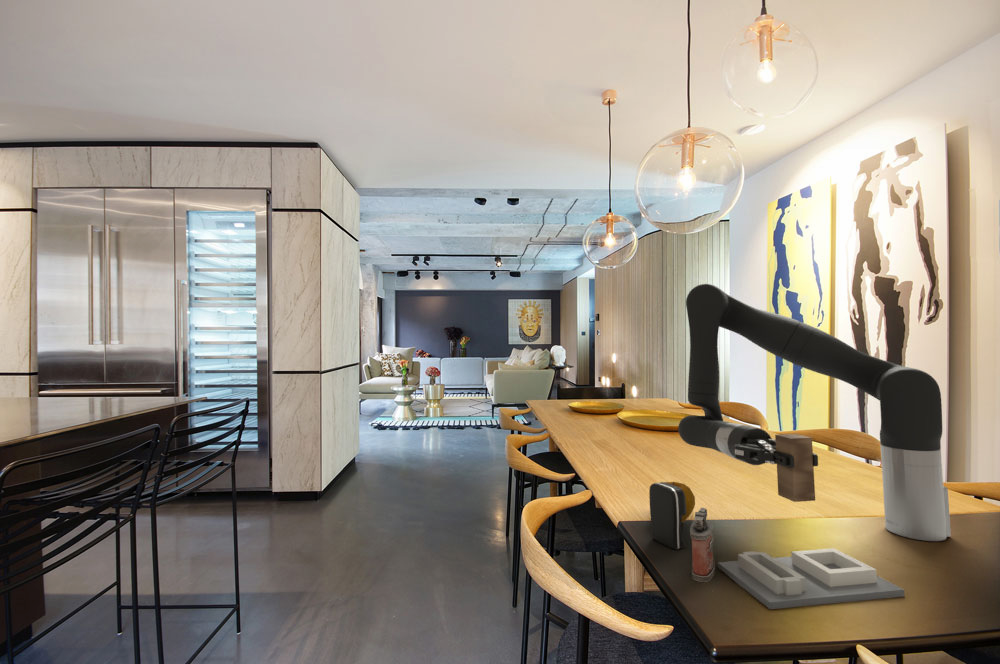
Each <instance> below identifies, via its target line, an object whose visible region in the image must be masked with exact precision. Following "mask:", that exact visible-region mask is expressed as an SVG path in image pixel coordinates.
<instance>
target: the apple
mask: <svg viewBox="0 0 1000 664" xmlns="http://www.w3.org/2000/svg"><path fill="white" fill-rule="evenodd" d="M664 482H665V483H669V484H672V485H675V486H677V487H679V488H681V489H682V490H683V491H684V494H685V500H686V515H683V516H682V520H681V524H682V523H684V522H685V521H686V520H687V519H688V518H689V517H690V515H691V514H692V513H693V511H694V509H695V506H696V496H695V495H694V493H693V491H692V490H691V488H690V487H689V486H687V485H686V484H685V483H682V482H678V481H664Z"/></svg>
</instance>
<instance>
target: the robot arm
mask: <svg viewBox="0 0 1000 664" xmlns="http://www.w3.org/2000/svg"><path fill="white" fill-rule="evenodd" d="M685 305H686V306H685V307H686V313H687V319H688V327H689V344H690V345H689V363H688V365H689V367H688V381H687V382H688V383H687V401H688V403H689V404H691V405H692V406H695V407H699V408H702V410H703V413H704V415H687V416H684V417H683V418H681V420H680V421H679V423H678V429H677V430H678V431H677V432H678V435H679V436H680V439H681V440H682V441H683V442H684V443H686V444H687V445H690V446H692V447H693V446H694V447H700V448H705V449H712V450H715V451H717V452H719V453H722V454H725V455H726V456H728V457H730V458H732V459H735V460H737V461H740V462H743V463H746V464H749V465H752V466H761V465H764V464H771V465H777V464H779V465H782V466H785V467H788V468H793V467H794V457H793V455H790V454H786V453H783V452H780V451H776V441H775V438H772V437H771V435H770V434H769V433H768V432H767V431H766V430H764V429H763V428H759V427H755V426H751V425H746V424H743V423H733V422H729V421H724V418H723V415H722V409H721V405H720V400H719V398H720V396H719V395H720V365H719V364H720V363H719V362H720V361H719V352H718V351H719V350H718V348H719V347H718V342H719V341H718V339H719V328H722V329H725V330H728V331H731V332H733V333H736V334H737V335H740V336H742V337H744V338H745V339H747V340H748V341H750V342H752V343H753V344H755V345H756V346H757V347H760V348H761V349H763V350H765V351H766V352H768V353H770V354H772V355H774V356H777V357H778V358H780V359H782V360H785V361H787V362H789V363H792V364H793V365H795V366H798V367H801V368H803V369H805V370H808V371H811V372H814V373H817V374H821V375H824V376H827V377H830V378H833V379H836V380H840V381H841V382H844V383H846V384H849V385H851V386H853V387H854V388H856V389H858V390H860V391H862V392H864V393H866V394H868V395H870V396H871V397H873V398H875V399H876V400H878V401H879V406H880V407H879V408H880V429H879V439H880V440H879V443H880V460H881V475H882V490H883V491H882V493H883V494H882V495H883V508H884V509H883V510H884V523H885V526H884V527H885V529H886V530H887V531H888V532H890V533H893V534H895V535H898V536H901V537H904V538H909V539H911V540H912V539H913V540H917V541H925V542H941V541H946V540H947V537H952V535H951V534H952V531H951V530H952V529H951V519H950V517H951V516H950V503H949V490H948V487H946V486H944V477H943V476H944V475H943V464H942V447H941V446H942V445H941V444H942V443H941V440H942V439H941V438H942V437H943V410H942V406H943V404H942V394H941V389H940V386H939V384H938V382H937V380H936V379H935V378H934V377H933V376H932V375H930V374H929V373H927V372H926V371H923V370H922V369H917V368H914V367H909V366H903V365H900V364H896V363H893V362H890V361H888V360H884V359H882V358H881V359H880V358H879V357H875V356H872V355H870V354H867V353H865V352H862V351H860V350H859V349H857V348H854V347H852V346H851V345H849V344H847V343H846V342H844V341H842V340H841V339H839V338H837V337H835V336H834V335H832V334H829V333H827V332H826V331H823V330H821V329H819V328H816V327H814V326H812V325H810V324H807V323H804V322H802V321H800V320H797V319H794V318H792V317H788V316H785V315H782V314H778V313H775V312H771V311H768V310H763V309H759V308H756V307H754V306H751V305H749V304H747V303H744V302H742V301H741V300H739V299H737V298H735V297H733V296H731V295H729V294H728V293H726V292H725V291H723V290H722V289H721V288H720V287H718V286H716V285H715V284H711V283H702V284H698V285H696V286H694V287H693V288H692V289H691V290H689V292H688V294H687V297H686V300H685ZM812 455H813V466H814V467H818V466H819V456H818V454H817V453H815V452H813V454H812Z"/></svg>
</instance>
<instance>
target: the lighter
mask: <svg viewBox="0 0 1000 664" xmlns="http://www.w3.org/2000/svg"><path fill="white" fill-rule="evenodd" d="M707 518H708V509H707V508H706V507H700V508H699V510H698V511H695V513H694V517H693V519H694V522H692V523H691V525H690V528H689V533H690V534H689V535H690V538H691V553H692V565H691V578H692V579H693V580H695V581H697V582H700V583H701V582H702V583H707V582H709V581H710V580H711V579H712V578H713V576H714V575H715V571H714V570H716V569H715V567H716V566H715V560H714V551H713V550H714V546H715V545H714V544H715V543H714V536H713V532H714V526H713V522H712V521H711V520H708V519H707Z"/></svg>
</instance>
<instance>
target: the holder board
mask: <svg viewBox="0 0 1000 664" xmlns="http://www.w3.org/2000/svg"><path fill="white" fill-rule="evenodd" d="M737 557H738V558H737V560H732V561H719V562H717V569H718V568H719V569H718V570H720V569H721V570H722V571H723V572H725V573H726V574H727V575H728V576H729V577H728V576H727V575H726V574H725V573H724V574H725V575H726V576H727V577H728V578H730V579H731V580H732V581H734V582H735V583H736V584H737V585H738V586H740V587H741V588H742V589H743V590H745V591H746V592H747V593H749V594H750V595H751V596H753V597H754V598H755V599H756V600H758V602H760V603H761V604H763V606H766V607H767V609H769V610H774V609H775V610H777V609H787V608H797V607H799V608H800V607H808V606H809V607H810V606H816V605H817V606H819V605H829V604H830V605H831V604H837V603H839V604H840V603H849V602H851V603H852V602H860V601H861V602H862V601H869V600H870V601H871V600H880V599H891V598H899V597H900V598H902V597H905V589H904V588H902V587H900V586H898V585H896V584H895V583H893V582H890V581H888V580H887V579H884V578H882V577H880V576H879V575H877V574H878V573H877V569H876V568H874V567H872V566H871V565H868V564H866V563H865V562H862V561H860V560H858V559H856V558H854V557H852V556H850V555H848V554H847V553H844V552H842V551H841V550H838V549H836V548H834V547H833V548H822V549H821V548H820V549H808V550H807V549H806V550H797V551H791V556H781V557H780V556H779V557H773V556H771V555H769V554H768V553H766V552H765V551H764V552H763V551H762V552H761V551H760V552H757V551H756V550H755V551H743V552H742V553H738V554H737ZM721 570H720V571H721ZM722 571H721V572H722ZM723 572H722V573H723Z"/></svg>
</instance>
